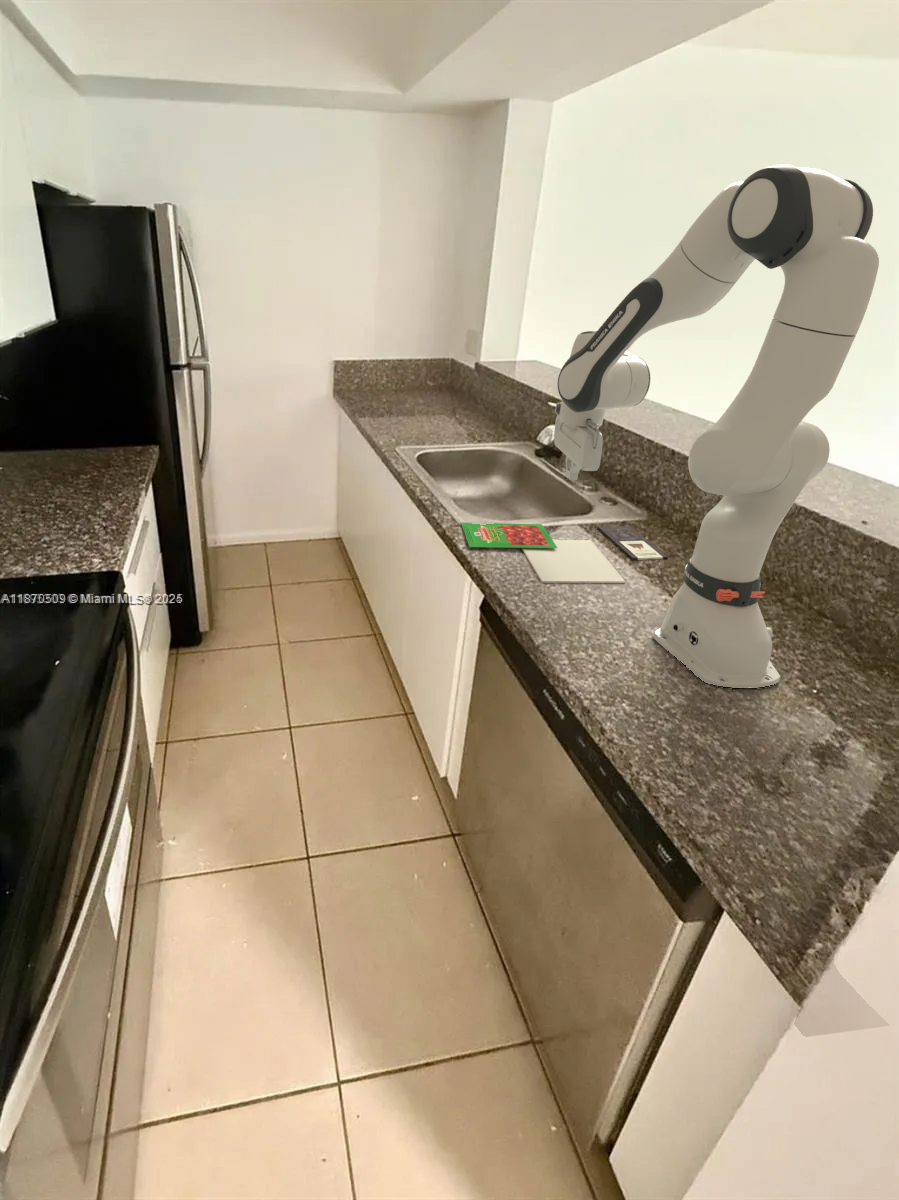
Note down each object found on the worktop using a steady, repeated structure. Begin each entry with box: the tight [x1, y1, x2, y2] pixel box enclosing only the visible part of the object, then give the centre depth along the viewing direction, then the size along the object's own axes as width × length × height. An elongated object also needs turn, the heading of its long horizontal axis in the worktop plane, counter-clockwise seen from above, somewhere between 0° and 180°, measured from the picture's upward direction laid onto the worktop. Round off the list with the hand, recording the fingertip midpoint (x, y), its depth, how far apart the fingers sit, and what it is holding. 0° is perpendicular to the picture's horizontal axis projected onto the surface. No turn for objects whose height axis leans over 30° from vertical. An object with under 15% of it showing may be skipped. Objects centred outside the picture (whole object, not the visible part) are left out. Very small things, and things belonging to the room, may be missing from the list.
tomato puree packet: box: [460, 522, 557, 549], centre depth 151 cm, size 15×1×20 cm
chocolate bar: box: [596, 525, 669, 561], centre depth 155 cm, size 9×1×18 cm
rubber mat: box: [521, 539, 626, 584], centre depth 142 cm, size 21×18×1 cm
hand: (570, 478), depth 141 cm, fingers closed
